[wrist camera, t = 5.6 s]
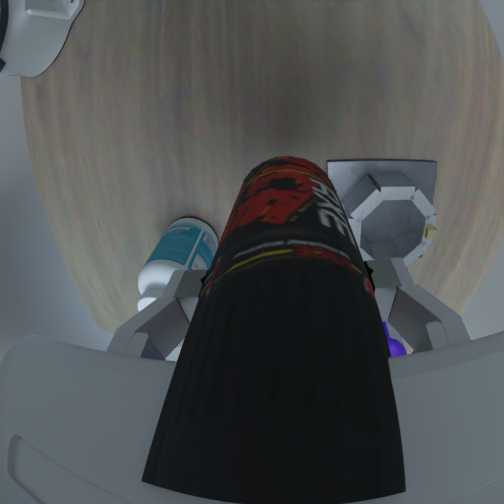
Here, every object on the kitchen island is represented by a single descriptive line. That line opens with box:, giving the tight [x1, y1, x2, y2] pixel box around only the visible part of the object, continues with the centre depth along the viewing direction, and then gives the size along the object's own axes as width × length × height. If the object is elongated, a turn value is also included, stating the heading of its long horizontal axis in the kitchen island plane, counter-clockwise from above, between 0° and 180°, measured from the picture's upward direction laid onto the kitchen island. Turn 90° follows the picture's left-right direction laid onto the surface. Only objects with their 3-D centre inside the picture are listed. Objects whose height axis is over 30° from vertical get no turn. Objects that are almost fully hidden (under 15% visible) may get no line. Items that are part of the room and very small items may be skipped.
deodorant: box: [141, 156, 406, 504], centre depth 10 cm, size 6×6×15 cm
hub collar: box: [327, 160, 437, 267], centre depth 29 cm, size 14×14×5 cm
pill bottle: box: [138, 218, 218, 312], centre depth 31 cm, size 8×7×14 cm
